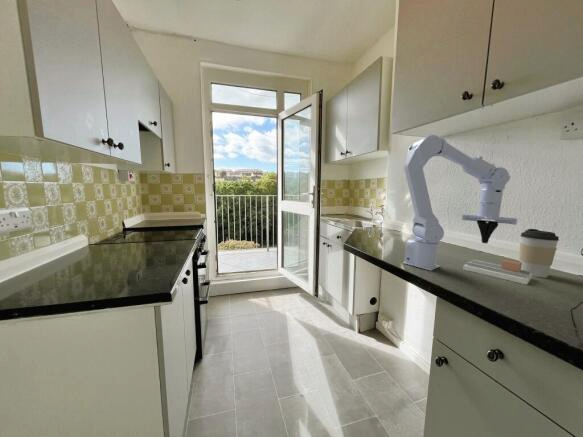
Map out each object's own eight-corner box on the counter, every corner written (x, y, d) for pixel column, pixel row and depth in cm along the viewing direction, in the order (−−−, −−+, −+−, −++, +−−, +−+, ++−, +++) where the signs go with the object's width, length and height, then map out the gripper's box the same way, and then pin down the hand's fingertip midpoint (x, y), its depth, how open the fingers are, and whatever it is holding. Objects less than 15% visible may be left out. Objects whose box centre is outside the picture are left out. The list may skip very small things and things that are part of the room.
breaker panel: (462, 269, 83) (463, 262, 82) (471, 265, 88) (471, 258, 88) (527, 284, 70) (528, 276, 70) (531, 278, 76) (532, 271, 76)
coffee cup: (560, 280, 76) (569, 233, 74) (527, 277, 78) (534, 231, 76) (537, 271, 85) (544, 229, 83) (508, 268, 86) (514, 227, 85)
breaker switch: (501, 271, 77) (502, 260, 76) (503, 269, 79) (505, 259, 79) (518, 275, 74) (519, 264, 73) (520, 273, 76) (522, 262, 76)
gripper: (464, 202, 82) (459, 241, 83) (522, 205, 74) (515, 248, 76) (463, 202, 88) (458, 238, 89) (516, 204, 80) (510, 244, 82)
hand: (484, 242), depth 83 cm, fingers closed
